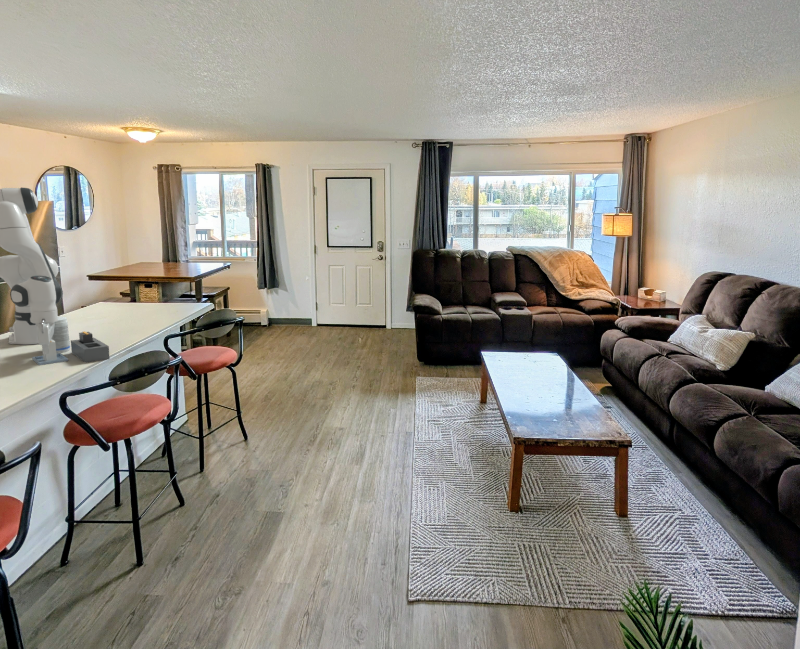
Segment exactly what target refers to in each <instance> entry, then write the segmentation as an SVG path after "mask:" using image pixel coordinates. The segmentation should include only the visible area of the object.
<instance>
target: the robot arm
mask: <svg viewBox="0 0 800 649" xmlns="http://www.w3.org/2000/svg"><path fill="white" fill-rule="evenodd" d="M38 206H39V200H38V197H37V195H36V193H35V192H34V190H32V189H31V188H28V187H20V188H19V187H4V188H3V187H2V188H0V248H2V249H3V250H4V251H6V252H8V253H10V254H7V255H3V256H0V279H2V280H3V281H4V282H5V283H6V284H7V285H8V287H9V288H10V293H9V294H10V295H9V296H10V300H11V302H12V303H13V304H14V305H15V306H14V307H15V311H14V319H15V321H14V323H13V325H12V326H9V327H8V329H9V333H11V334H10V335H8V344H9V345H39V346H41V349H42V348H43V351H42V354H43V353H44V354H48V353H49V344H50V341H51V339H52V336H53V334H54V325H55V322H56V321H58V307H57V304H58V303H59V302H60V301H61V299H62V298H63V294H64V291H63V289H62V286H61V284H60V283H59V281H58V280H57V278H56V277H57V276H58V274H59V264H58V263H57V261H56V260H55V259H53V258H52V257H50V256H49V255H47V254H46V253H45V251H44V249H43V247H42V246H41V244H39V243H38V242H36V241H35V240H36V239H35V238H34V235H33V232H32V229H31V226H30V223H29V219H28V217H27V215H31V214H32V213H35V212H36V211H37V210H38Z"/></svg>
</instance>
